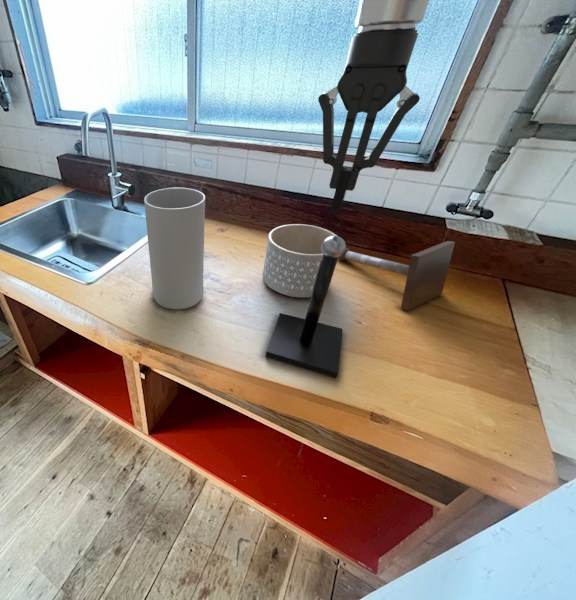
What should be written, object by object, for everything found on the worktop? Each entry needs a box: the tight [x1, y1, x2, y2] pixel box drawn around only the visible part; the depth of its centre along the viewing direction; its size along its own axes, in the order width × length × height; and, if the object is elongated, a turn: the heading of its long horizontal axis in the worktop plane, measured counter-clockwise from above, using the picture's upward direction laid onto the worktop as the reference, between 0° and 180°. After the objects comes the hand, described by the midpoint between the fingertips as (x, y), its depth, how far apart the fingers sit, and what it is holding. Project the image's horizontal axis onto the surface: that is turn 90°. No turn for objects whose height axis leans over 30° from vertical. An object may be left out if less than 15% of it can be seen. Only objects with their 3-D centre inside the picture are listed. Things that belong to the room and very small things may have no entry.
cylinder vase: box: [143, 187, 206, 310], centre depth 73 cm, size 12×12×25 cm
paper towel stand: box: [338, 240, 456, 312], centre depth 80 cm, size 25×13×13 cm, turn 27°
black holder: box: [264, 235, 347, 379], centre depth 60 cm, size 25×13×13 cm
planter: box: [262, 223, 338, 298], centre depth 80 cm, size 16×16×13 cm
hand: (336, 207), depth 55 cm, fingers closed
